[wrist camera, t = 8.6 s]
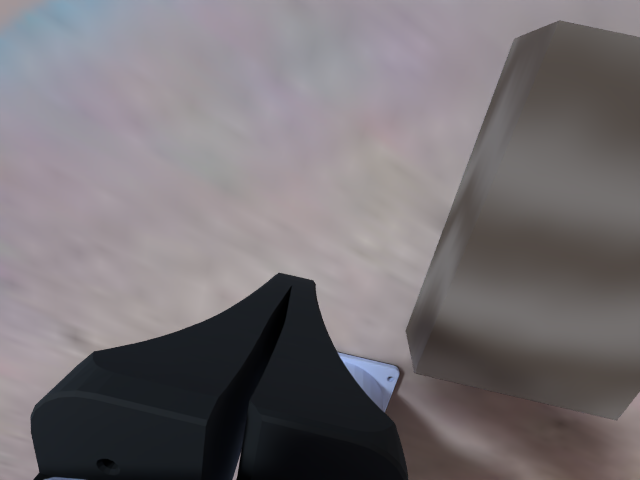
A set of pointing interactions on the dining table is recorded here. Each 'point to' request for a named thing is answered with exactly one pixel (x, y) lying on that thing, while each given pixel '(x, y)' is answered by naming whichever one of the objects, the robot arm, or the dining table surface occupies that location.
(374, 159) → the dining table surface
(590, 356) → the grey flat block
